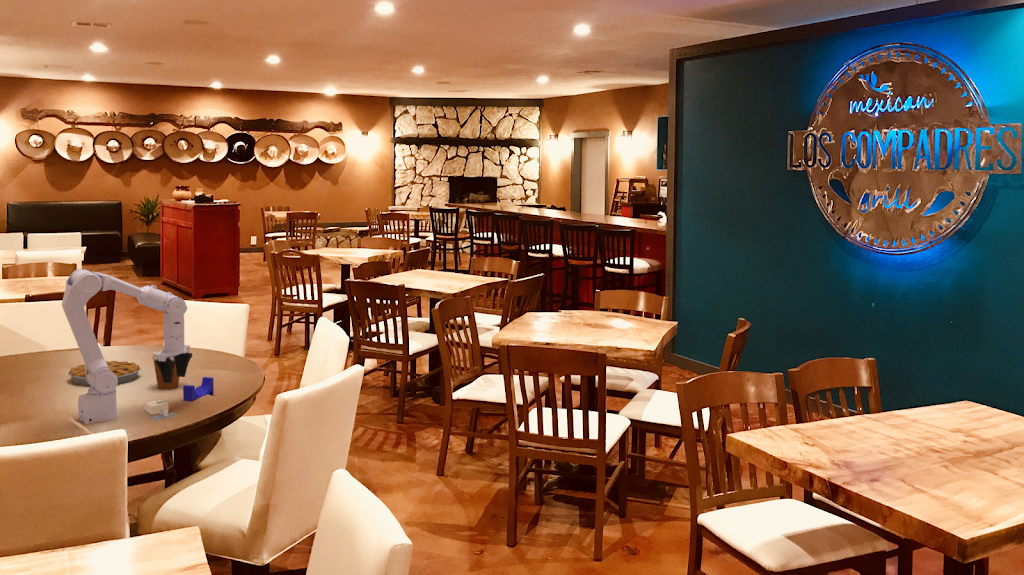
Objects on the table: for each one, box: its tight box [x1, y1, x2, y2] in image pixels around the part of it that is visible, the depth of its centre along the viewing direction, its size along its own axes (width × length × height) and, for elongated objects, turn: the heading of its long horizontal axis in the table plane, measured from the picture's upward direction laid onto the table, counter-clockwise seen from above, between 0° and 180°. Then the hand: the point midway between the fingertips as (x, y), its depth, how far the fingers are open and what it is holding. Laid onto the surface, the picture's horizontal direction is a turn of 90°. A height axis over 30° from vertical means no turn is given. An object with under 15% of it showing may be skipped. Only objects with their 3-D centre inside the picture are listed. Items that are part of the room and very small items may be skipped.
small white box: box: [144, 399, 170, 416], centre depth 239 cm, size 5×5×4 cm
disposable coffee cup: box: [151, 349, 180, 390], centre depth 268 cm, size 10×10×12 cm
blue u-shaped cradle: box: [182, 376, 215, 402], centre depth 256 cm, size 12×4×6 cm, turn 169°
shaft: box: [159, 408, 169, 418], centre depth 234 cm, size 1×3×2 cm, turn 46°
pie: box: [67, 360, 142, 387], centre depth 276 cm, size 22×22×5 cm
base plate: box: [148, 411, 179, 422], centre depth 234 cm, size 7×5×1 cm
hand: (174, 379), depth 243 cm, fingers open, 7 cm apart
